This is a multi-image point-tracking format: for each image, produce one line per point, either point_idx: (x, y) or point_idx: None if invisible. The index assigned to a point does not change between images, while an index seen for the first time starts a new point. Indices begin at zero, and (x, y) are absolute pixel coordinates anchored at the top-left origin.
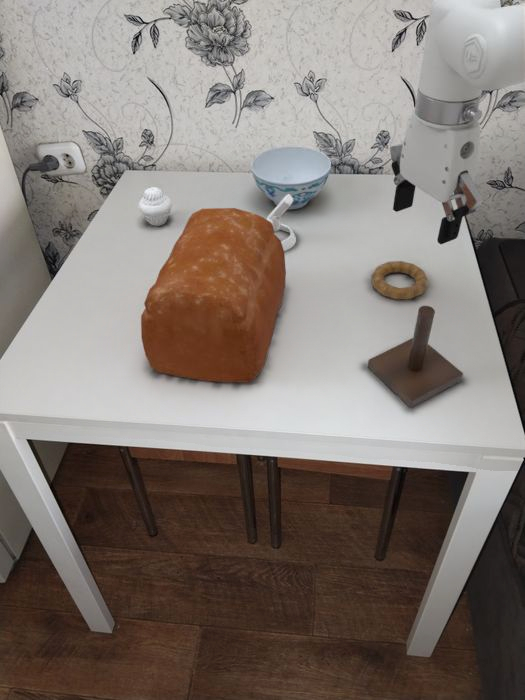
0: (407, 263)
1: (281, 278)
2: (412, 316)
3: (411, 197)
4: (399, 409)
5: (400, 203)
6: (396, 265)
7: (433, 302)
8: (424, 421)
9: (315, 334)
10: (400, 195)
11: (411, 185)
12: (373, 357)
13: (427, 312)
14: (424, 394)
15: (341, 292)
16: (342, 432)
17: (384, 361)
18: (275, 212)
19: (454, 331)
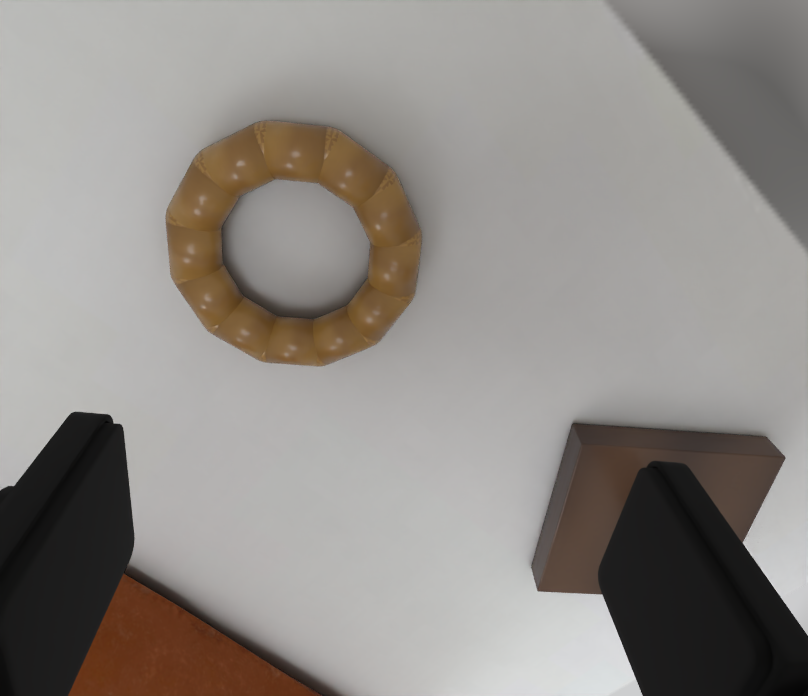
0: (237, 167)
1: (134, 690)
2: (477, 343)
3: (82, 508)
4: None
5: (106, 584)
6: (215, 212)
7: (479, 223)
8: None
9: (339, 587)
10: (68, 671)
11: (9, 664)
12: (542, 579)
13: None
14: None
15: (214, 435)
16: (617, 688)
17: (574, 569)
18: None
19: (639, 290)
